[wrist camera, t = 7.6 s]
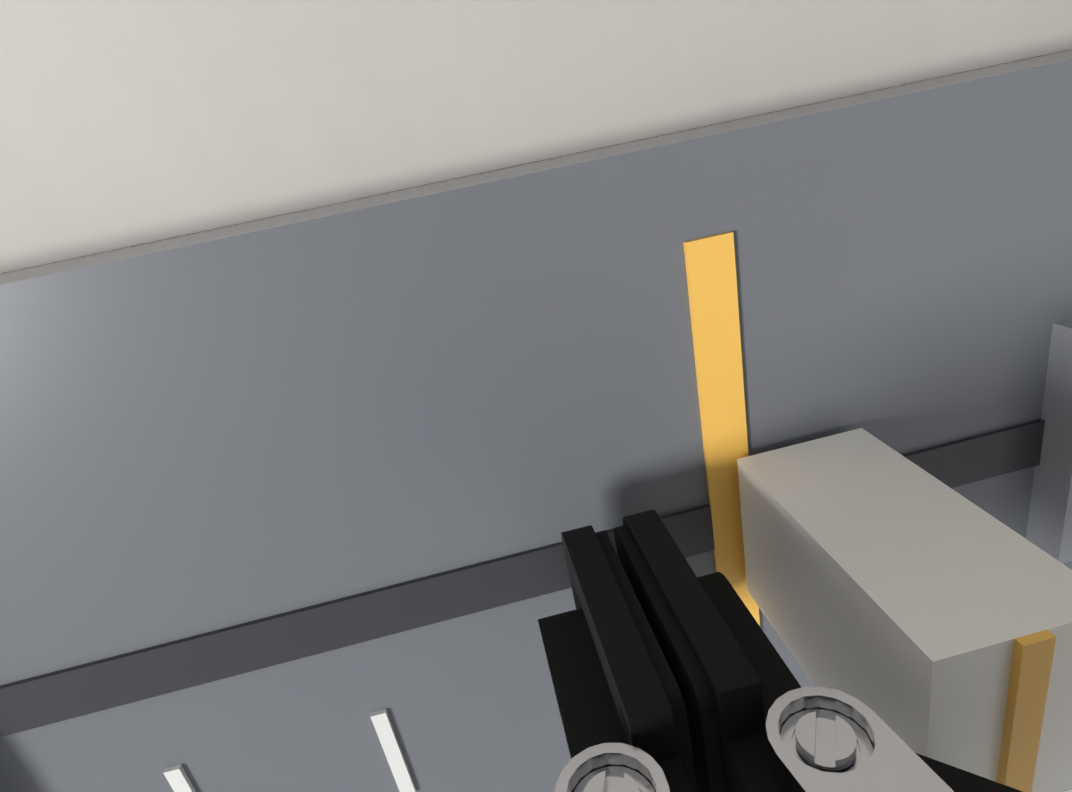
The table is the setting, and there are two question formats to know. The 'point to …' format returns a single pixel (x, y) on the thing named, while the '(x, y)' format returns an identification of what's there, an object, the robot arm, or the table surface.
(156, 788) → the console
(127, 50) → the table surface
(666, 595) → the robot arm
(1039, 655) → the fader
